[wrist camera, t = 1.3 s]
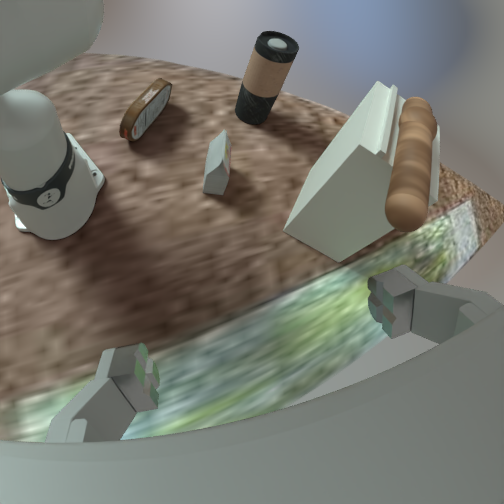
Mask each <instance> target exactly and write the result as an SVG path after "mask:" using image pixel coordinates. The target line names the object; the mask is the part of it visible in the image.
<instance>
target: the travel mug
mask: <svg viewBox="0 0 504 504" xmlns="http://www.w3.org/2000/svg"><path fill="white" fill-rule="evenodd" d="M298 50H299V46H298V44H297V42H296V41H295V40H294V39H292V38H291V37H289V36H287V35H285V34H282V33H279V32H275V31H265V32H262V33H261V35H260V36H259V37H258V38H257V41H256V44H255V47H254V49H253V52H252V55H251V58H250V61H249V64H248V66H247V69H246V72H245V75H244V78H243V81H242V85H241V89H240V92H239V96H238V100H237V103H236V108H235V113H236V115H237V117H238V118H239V119H240V120H242V121H243V122H245V123H248V124H260V123H262V122H264V121H265V120H266V118H267V116H268V114H269V112H270V110H271V108H272V106H273V104H274V102H275V100H276V98H277V96H278V94H279V92H280V90H281V88H282V85H283V83H284V81H285V79H286V76H287V74H288V72H289V70H290V67H291V65H292V63H293V61H294V59H295V57H296V54H297V52H298Z"/></svg>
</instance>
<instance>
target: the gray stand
mask: <svg viewBox="0 0 504 504" xmlns="http://www.w3.org/2000/svg"><path fill="white" fill-rule="evenodd" d="M397 89H398V88H397V87H395V86H394V85H393V86H392V87H391V88H390V89H389V88H387V87H386V86H385V85H383V84H382V83H380V82H379V81H377V82H376V83H375V85H374V86H373V87H372V89H371V90H370V92H369V93H368V94H367V95H366V97H365V98H364V99H363V101H362V102H361V103H360V105H359V106H358V107H357V109H356V110H355V111H354V113H353V114H352V115H351V117H350V118H349V119H348V121H347V122H346V123H345V125H344V126H343V127H342V129H341V130H340V131H339V132H338V134H337V135H336V136H335V138H334V139H333V140H332V142H331V143H330V144H329V146H328V147H327V148H326V150H325V151H324V152H323V154H322V155H321V156H320V158H319V159H318V160H317V162H316V163H315V164H314V166H313V167H312V168H311V170H310V172H309V174H308V177H307V179H306V181H305V183H304V186H303V188H302V190H301V192H300V194H299V197H298V199H297V201H296V203H295V205H294V208H293V210H292V212H291V214H290V216H289V218H288V221H287V223H286V225H285V227H284V229H283V232H285V233H287V234H289V235H291V236H292V237H294V238H296V239H298V240H300V241H301V242H303V243H305V244H307V245H309V246H310V247H312V248H314V249H316V250H317V251H319V252H321V253H323V254H324V255H326V256H328V257H330V258H331V259H333V260H335V261H337V262H338V263H339V262H341V261H342V260H344V259H346V258H347V257H349V256H351V255H352V254H354V253H356V252H357V251H359V250H361V249H362V248H364V247H366V246H367V245H369V244H371V243H372V242H374V241H375V240H377V239H379V238H380V237H382V236H383V235H385V234H387V233H388V232H390V231H391V230H393V229H395V228H394V227H392V226H391V224H390V223H389V222H388V220H387V218H386V215H385V202H386V197H387V193H388V188H389V183H390V178H391V173H392V168H393V163H394V157H395V151H396V145H397V139H398V133H399V126H398V122H399V117H400V115H401V112H402V106H403V104H404V102H405V101H406V100H405V99H403V98H402V97H400V96H399V95H397ZM439 154H440V134H439V126H438V125H437V134H436V137H435V139H434V140H433V141H432V167H431V182H430V194H429V204H428V207H429V206H430V205H432V204H433V203H435V202H436V201H438V186H439V156H440V155H439Z"/></svg>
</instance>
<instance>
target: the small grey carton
mask: <svg viewBox="0 0 504 504" xmlns="http://www.w3.org/2000/svg"><path fill="white" fill-rule="evenodd" d="M230 158H231V143H230V141H229V139H228V136H227V130H226V132H225V130H223V132H222V133H221V134H220V135H219V136H217V137H216V138H215V139H214V140H213V141H211V142H210V146H209V150H208V155H207V159H206V165H205V174H204V183H203V193H209V194H217V195H223V194H224V191H225V188H226V186H227V183H228V180H229V174H230Z"/></svg>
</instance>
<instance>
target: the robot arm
mask: <svg viewBox="0 0 504 504" xmlns="http://www.w3.org/2000/svg"><path fill="white" fill-rule="evenodd" d="M103 16H104V3H103V0H0V177H1V181H2V184H3V185H4V188H5V190H6V191H7V196H8V198H9V206H10V208H11V209H12V211H13V212H14V213H15V223H16V227H17V228H18V230H20V231H23V232H32V233H34V234H36V235H37V236H39V237H41V238H44V239H48V240H57V239H62V238H65V237H67V236H69V235H71V234H73V233H75V232H76V231H77V230H79V229H80V228H81V227H82V226H83V225H84V224H85V222H86V221H87V220H88V218H89V217H90V215H91V213H92V211H93V208H94V205H95V201H96V196H97V193H98V191H99V190H100V189H101V187H102V185H103V184H104V181H105V178H104V176H103V174H102V173H101V171H100V170H99V169H98V168H97V166H96V165H95V164H94V163H93V162H92V160H91V159H90V158H89V157H88V155H87V154H86V153H85V152H84V150H83V149H82V148H81V146H80V145H79V144H78V143H77V141H76V140H75V139H74V138H73V136H72V135H71V134H69V133H65V132H64V131H63V129H62V127H61V124H60V121H59V118H58V115H57V112H56V109H55V106H54V104H53V103H52V102H51V101H50V99H48V98H47V97H46V96H44V95H43V94H41V93H39V92H37V91H33V90H12V89H14V88H16V87H18V86H20V85H22V84H25V83H27V82H29V81H31V80H33V79H35V78H38V77H40V76H42V75H44V74H47V73H49V72H51V71H53V70H55V69H56V68H58V67H60V66H61V65H63V64H65V63H67V62H68V61H70V60H72V59H73V58H75V57H77V56H78V55H80V54H82V53H84V52H85V51H87V50H89V49H90V47H91V46H92V44H93V42H94V41H95V40H96V38H97V36H98V34H99V31H100V29H101V26H102V22H103ZM95 174H97V175H96V176H93V175H95ZM368 289H369V290H370V291H371V294H370V296H369V297H368V306H369V310H370V313H371V315H372V317H373V318H374V320H375V321H376V322H379V323H382V329H383V330H384V331H385V332H386V334H387V335H388V336H389V337H390V338H391V339H393V338H396V337H398V336H400V335H403V334H405V333H408V332H410V331H411V332H412V333H415V334H417V335H419V336H422V337H424V338H426V339H429V340H431V341H433V342H436V343H438V344H439V345H437V346H436V347H434V348H432V349H430V350H428V351H426V352H424V353H422V354H420V355H418V356H416V357H414V358H412V359H410V360H408V361H406V362H404V363H402V364H400V365H397V366H395V367H393V368H391V369H389V370H386V371H384V372H382V373H380V374H377V375H375V376H373V377H370V378H368V379H366V380H363V381H361V382H358V383H356V384H353V385H350V386H348V387H345V388H343V389H340V390H337V391H335V392H332V393H329V394H326V395H324V396H321V397H318V398H315V399H312V400H309V401H306V402H303V403H300V404H297V405H294V406H290V407H288V408H284V409H280V410H277V411H274V412H270V413H267V414H263V415H259V416H255V417H252V418H248V419H244V420H240V421H236V422H231V423H227V424H222V425H218V426H213V427H208V428H203V429H198V430H193V431H187V432H181V433H175V434H169V435H162V436H154V437H147V438H138V439H128V440H120V439H121V437H122V436H123V434H124V433H125V431H126V430H127V428H128V426H129V425H130V423H131V422H132V420H133V419H134V417H135V415H136V414H137V413H136V412H142V411H148V410H153V409H158V400H159V394H158V392H157V391H156V389H157V388H158V386H159V384H160V378H159V372H158V369H157V367H156V364H155V363H154V361H153V360H152V359H150V358H148V350H147V348H146V346H145V345H144V344H143V343H136V344H131V345H126V346H121V347H117V348H111V349H106V350H104V351H103V353H102V356H101V359H100V362H99V366H98V369H97V372H96V375H95V379H94V380H92V381H90V382H89V383H88V384H87V385H86V386H85V387H84V388H83V389H82V390H81V391H80V392H79V393H78V394H77V395H76V396H75V397H74V398H73V399H72V400H71V401H70V402H69V403H68V404H67V405H66V406H65V407H64V408H63V409H62V410H61V411H60V412H59V413H58V414H57V415H56V416H55V417H54V418H53V419H52V420H51V423H50V427H49V430H48V433H47V436H46V440H45V443H42V442H21V441H8V440H0V504H504V305H503V304H501V303H500V302H499V301H497V300H496V299H495V298H493V297H492V296H491V295H489V294H488V293H487V292H484V291H479V290H474V289H468V288H463V287H458V286H453V285H448V284H443V283H438V282H430V283H429V282H428V281H426V280H425V279H424V278H422V277H421V276H420V275H418V274H417V273H416V272H414V271H413V270H412V269H410V268H409V267H408V266H406V265H400V266H398V267H395V268H393V269H391V270H388V271H386V272H383V273H380V274H378V275H375V276H372V277H369V278H368Z"/></svg>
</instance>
